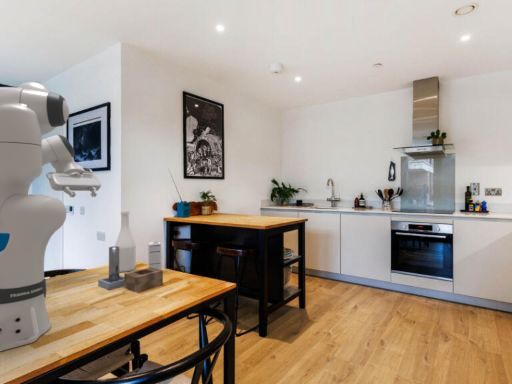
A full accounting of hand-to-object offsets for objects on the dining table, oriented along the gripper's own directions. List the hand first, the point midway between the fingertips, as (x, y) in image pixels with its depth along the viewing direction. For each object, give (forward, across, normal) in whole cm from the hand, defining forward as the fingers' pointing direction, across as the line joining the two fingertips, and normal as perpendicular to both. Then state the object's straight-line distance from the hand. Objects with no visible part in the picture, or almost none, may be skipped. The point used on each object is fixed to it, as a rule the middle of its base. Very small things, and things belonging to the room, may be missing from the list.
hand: (84, 196), depth 127 cm
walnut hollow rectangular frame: (+44, +10, +9) cm, 46 cm away
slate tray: (+35, +5, +18) cm, 40 cm away
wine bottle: (+24, +24, +29) cm, 45 cm away
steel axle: (+34, +5, +18) cm, 39 cm away
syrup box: (+36, +27, +17) cm, 48 cm away
